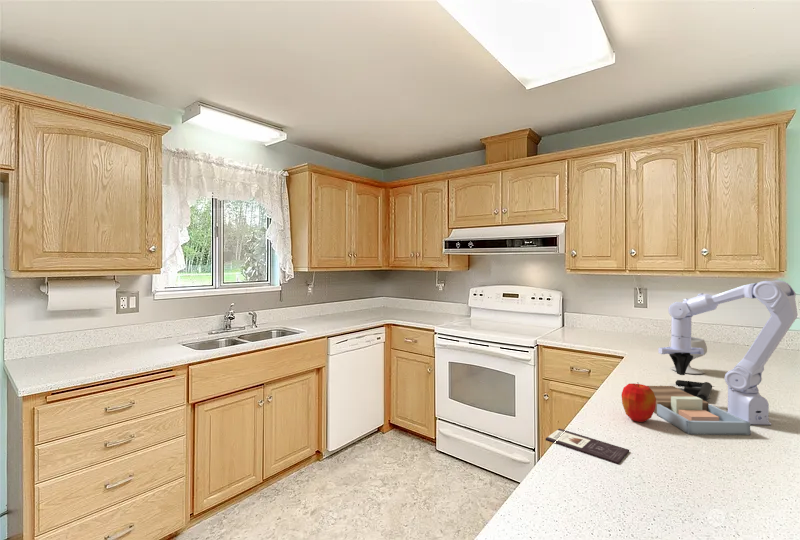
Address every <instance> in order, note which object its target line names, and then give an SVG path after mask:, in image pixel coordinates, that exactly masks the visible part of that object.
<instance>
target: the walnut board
mask: <svg viewBox="0 0 800 540" xmlns="http://www.w3.org/2000/svg"><path fill="white" fill-rule="evenodd" d="M647 386H648V387H649V388H650V389H651V390H652V391H653V392H654V395H655V397H656V405H655V410H654V412H653V414H656V415H657V404H661V405H662V406H664V407H666V408H668V409H670V410H671V396H680V397H695V396H693V395H691V394H689V393H687V392H684V391H682V390H680V389H678V388H679V387H676V386H673V385H647ZM708 405H710V403H709V402H708V401H704V400H702V410H706V411H708Z"/></svg>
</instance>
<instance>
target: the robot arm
mask: <svg viewBox="0 0 800 540" xmlns="http://www.w3.org/2000/svg"><path fill="white" fill-rule="evenodd" d="M796 295H797V293H796V291H795V290H794V288H792V286H791V285H790V284H789V283H788V282H786V281H785V280H781V279H780V280H779V279H775V280H762V281H759V282H755V283H754V282H753V283H748V284H744V285H740V286H738V287H734V288H732V289H728V290H726V291H723V292H720V293H716V294H714V295H713V294H710V293H704V292H701V293H697V296H693V297H691V298H682V300H683V301H674V302H672V303H670V305H669V306H668V314H669V315H670V316H671V325H670V326H671V329H670V330H671V331H670V339H671V347H669V346H665V347H658V354H660V355H669V357H670V359H671V360H672V362H673V365H674V367H675V368H676V371H675V372H676V374H677V375H679V376H685V375H686V373H685V372H686V369H687V367H688V365H689V363H690V364H691V362H692V361H693V360H694V359H693V356H692V355H690V354H704V349H702V348H691V337H692V317H694V316H696V315H700V314H705V313H708V312H711V311H714V310H717V307H718V306H719V305H720V304H725V303H728V302H732V301H736V300H741V299H744V298H747V299H757V300H758V301H759V302H760V303H761V304H763V305H764V306H765V308H766V309H767V311H768V312H769V314H770V317H769V318H768V319H767V321H766V323H765V324H764V326H763V327H762V329H761V330H760V331H759V333H758V335H757V336H756V338H755V340H754V341H753V342H752V344H751V346H750V347H749V349H748V350H747V352H746V353H745V355H744V356H743V358H742V359H740V361H739V362H737V364H736V365H735V366H734V367H733V368H732V369H730V370H728V371H727V372H725V375H724V381H725V384H727V410H725V411H726V412H728V413H730V414H732V415H735V416H737V417H739V418H741V419H743V420H745V421H748V422H750V425H768V426H769V425H772V422H770V421H769V413H770V412H769V410H770V409H769V407H770V406H769V402H768V400H767V399H766V398H765V397H764V396H762V395H761V394H760V390H759V387H758V385H760V383H762V374H763V372H764V371H765V365H766V364H767V362H768V360H769V359H770V358H771V356H772V355H773V354H774V352H775V351H776V349H777V347H778V346H779V345H780V343H781V341H782V340H783V339H784V337H785V336H786V334H787V332H788V331H789V329H790V328H791V327H792V326H793V324H794V322H795V320H797V317H798V309H797V303H796ZM692 359H693V360H692ZM691 360H692V361H691Z"/></svg>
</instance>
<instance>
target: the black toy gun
mask: <svg viewBox="0 0 800 540" xmlns="http://www.w3.org/2000/svg"><path fill="white" fill-rule="evenodd" d="M677 385H678V386H677ZM675 386H677V388H678V389H680V390H682V391H684V392H687V393H689V394H691V395H693V396H695V397H698V398H701V399H702V400H704V401H706V402H708V400H709V399H710V396H711V394H710V393H711V391H712V390H713V387H715V386H713V385H712V384H711V383H710V382H708V381H704V382H699V381H690V380H683V379H677V380H675ZM681 386H685V387H681ZM708 398H709V399H708Z"/></svg>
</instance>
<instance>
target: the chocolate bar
mask: <svg viewBox="0 0 800 540" xmlns="http://www.w3.org/2000/svg"><path fill="white" fill-rule="evenodd" d="M565 430H566V429H562V428H557V430H555V431H554V432H552V433H551V434H549V435H548V436H547V437H546V438H545V441H546V442H549V443H552V444H556V445H558V446H561V447H565V448H567V449H571V450H573V451H576V452H579V453H582V454H586V455H588V456H591V457H595V458H598V459H600V460H604V461H606V462H610V463H612V464H615V465H619V464H621V463H622V461H623V460H624V458H625V457H626V456H627V455H628V454H629V453H630V449H627V448H625V447H621V446H618V445H616V444H612V443H608V442H605V441H602V440H598V439H595V438H592V437H588V436H585V435H582V434H579V433H575V432H571V431H568V430H566V431H565ZM564 431H565V432H564ZM563 432H564V433H563ZM562 433H563V434H562ZM561 434H562V435H561ZM560 435H561V436H560ZM559 437H560V438H559ZM558 438H559V439H558ZM557 439H558V441H556V440H557ZM555 441H556V443H554V442H555Z"/></svg>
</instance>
